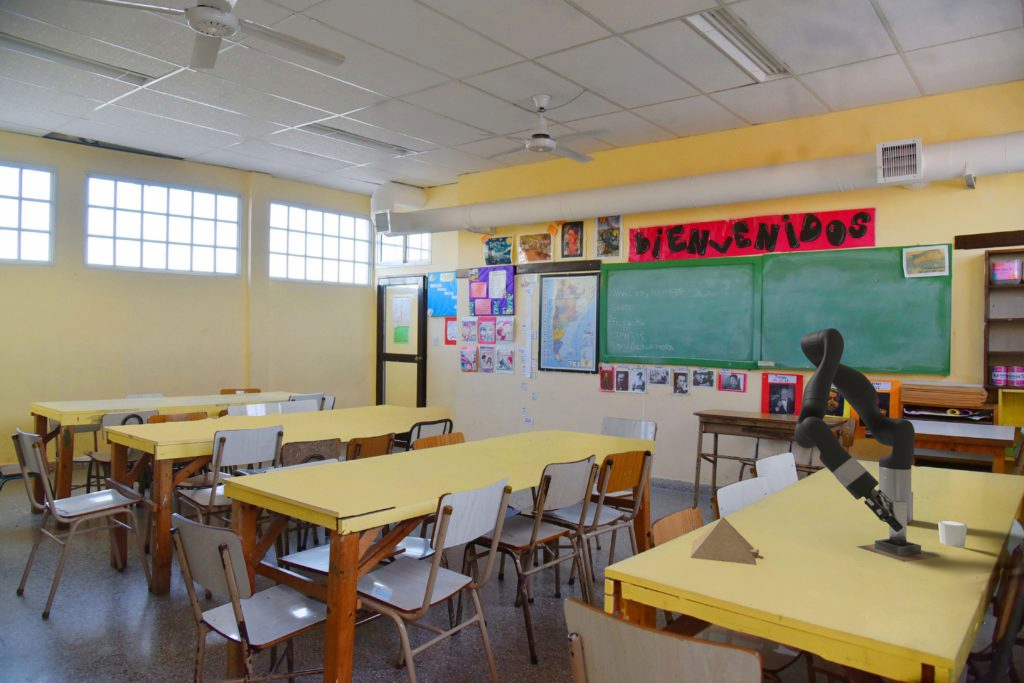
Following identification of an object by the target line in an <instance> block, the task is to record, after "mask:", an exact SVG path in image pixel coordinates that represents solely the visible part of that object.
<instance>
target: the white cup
mask: <svg viewBox="0 0 1024 683" xmlns="http://www.w3.org/2000/svg"><path fill="white" fill-rule="evenodd" d="M937 523H938V525H937V526H938V534H939V543H940V544H942V545H945V546H950V547H955V548H960V549H964V550H965V549H966V538H967V532H968V531H967V530H968V524H966V523H964V522H961V521H955V520H947V519H946V520H945V519H942V520H938V521H937Z"/></svg>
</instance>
